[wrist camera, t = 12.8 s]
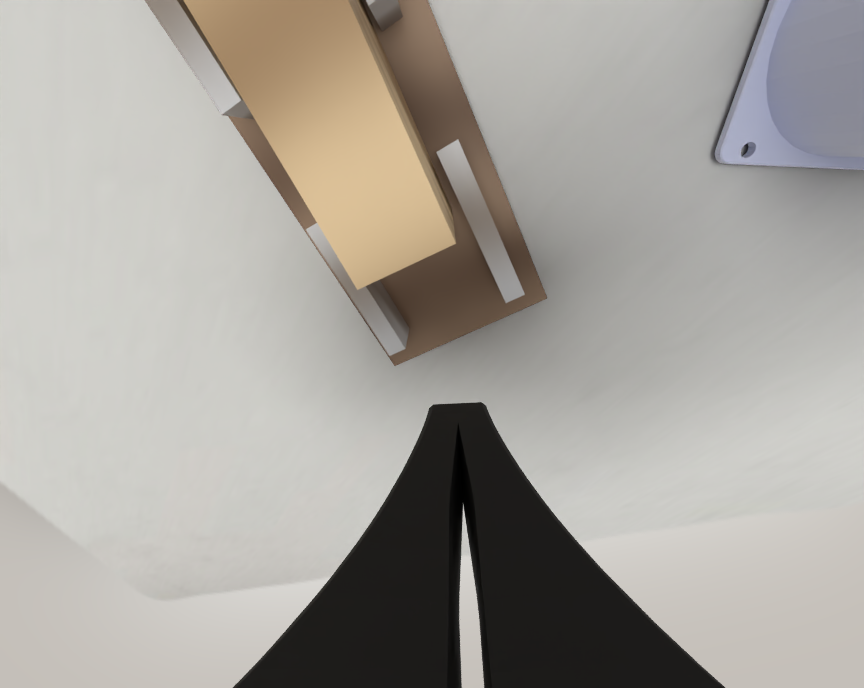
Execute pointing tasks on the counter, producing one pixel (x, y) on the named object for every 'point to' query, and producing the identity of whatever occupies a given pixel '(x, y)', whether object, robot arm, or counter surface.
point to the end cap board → (456, 169)
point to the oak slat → (335, 126)
